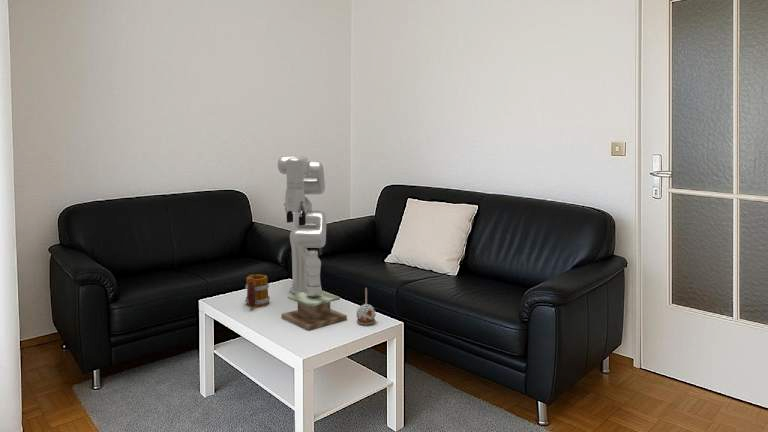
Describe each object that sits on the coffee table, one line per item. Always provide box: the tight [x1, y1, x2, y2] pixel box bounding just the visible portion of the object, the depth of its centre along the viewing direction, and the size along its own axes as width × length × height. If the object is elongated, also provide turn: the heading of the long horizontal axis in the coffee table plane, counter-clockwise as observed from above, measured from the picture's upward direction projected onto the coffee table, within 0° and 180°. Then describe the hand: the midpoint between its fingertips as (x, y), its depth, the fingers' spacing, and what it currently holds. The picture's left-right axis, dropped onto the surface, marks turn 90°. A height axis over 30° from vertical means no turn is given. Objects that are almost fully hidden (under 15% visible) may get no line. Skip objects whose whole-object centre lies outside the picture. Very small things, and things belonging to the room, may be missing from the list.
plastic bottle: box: [306, 249, 323, 297], centre depth 255 cm, size 6×7×20 cm
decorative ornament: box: [356, 287, 376, 326], centre depth 253 cm, size 8×8×15 cm
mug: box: [244, 274, 271, 309], centre depth 275 cm, size 11×16×15 cm, turn 174°
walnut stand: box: [281, 290, 348, 331], centre depth 257 cm, size 20×20×10 cm
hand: (296, 223), depth 270 cm, fingers open, 9 cm apart
